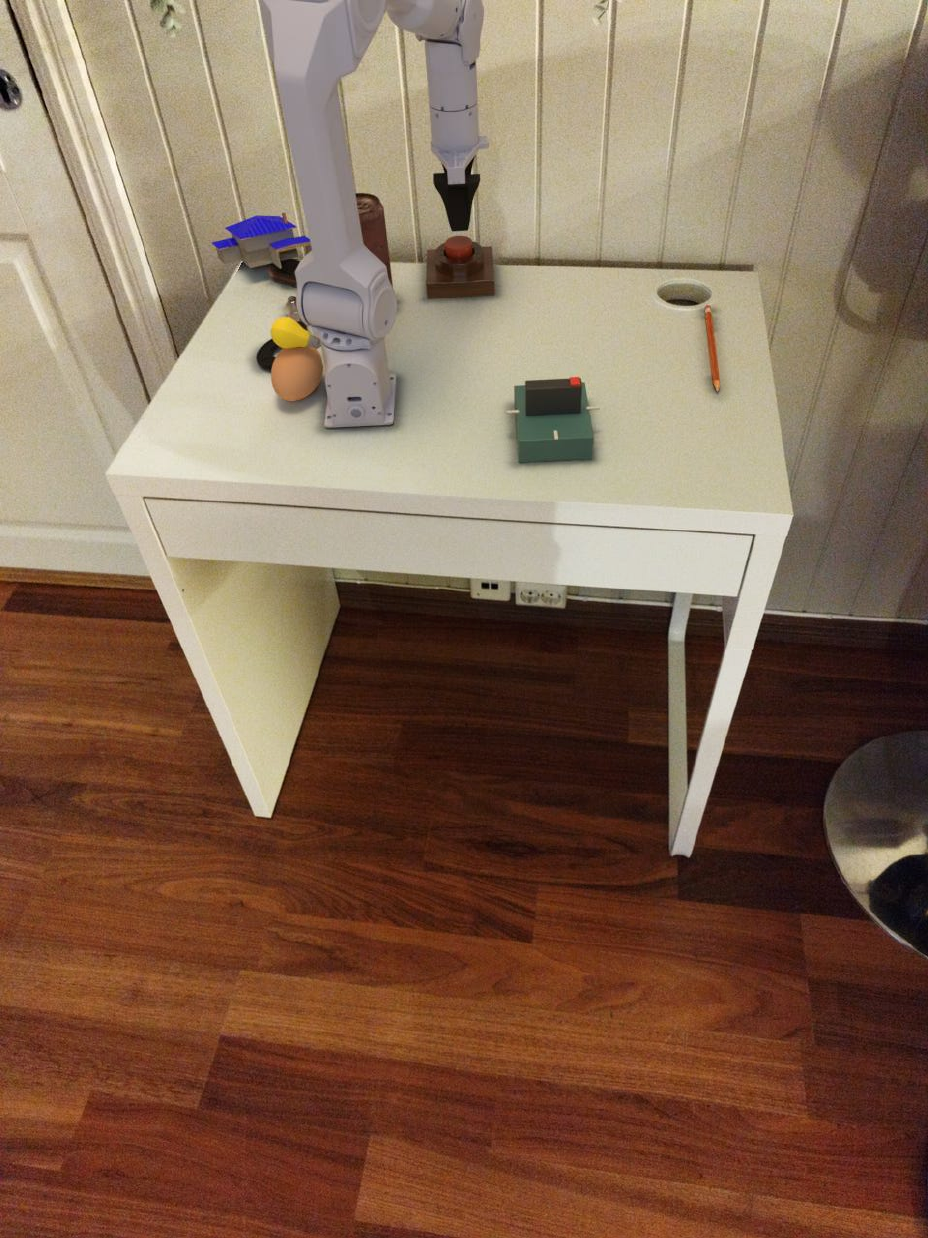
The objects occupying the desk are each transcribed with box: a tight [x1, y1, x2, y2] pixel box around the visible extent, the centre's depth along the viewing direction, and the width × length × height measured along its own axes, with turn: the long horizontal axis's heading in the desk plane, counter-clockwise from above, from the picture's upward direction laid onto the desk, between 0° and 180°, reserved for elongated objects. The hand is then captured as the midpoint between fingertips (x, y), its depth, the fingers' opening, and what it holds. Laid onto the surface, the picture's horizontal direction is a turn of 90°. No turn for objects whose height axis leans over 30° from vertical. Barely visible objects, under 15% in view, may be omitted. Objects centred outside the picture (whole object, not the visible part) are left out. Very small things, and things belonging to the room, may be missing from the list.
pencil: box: [704, 304, 721, 392], centre depth 114 cm, size 1×18×1 cm, turn 174°
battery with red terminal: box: [524, 376, 582, 416], centre depth 102 cm, size 6×2×4 cm, turn 91°
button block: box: [425, 240, 496, 299], centre depth 127 cm, size 9×9×4 cm
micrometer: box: [256, 295, 309, 370], centre depth 120 cm, size 15×7×2 cm, turn 14°
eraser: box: [268, 258, 301, 287], centre depth 129 cm, size 11×4×2 cm, turn 61°
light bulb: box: [270, 316, 321, 350], centre depth 108 cm, size 3×6×4 cm
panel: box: [506, 381, 600, 463], centre depth 105 cm, size 10×10×3 cm
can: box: [355, 192, 394, 288], centre depth 120 cm, size 6×6×14 cm
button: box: [444, 235, 473, 260], centre depth 125 cm, size 4×4×2 cm
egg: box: [270, 346, 324, 402], centre depth 111 cm, size 6×6×8 cm
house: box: [211, 212, 312, 269], centre depth 130 cm, size 11×14×6 cm
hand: (459, 214), depth 120 cm, fingers open, 7 cm apart
